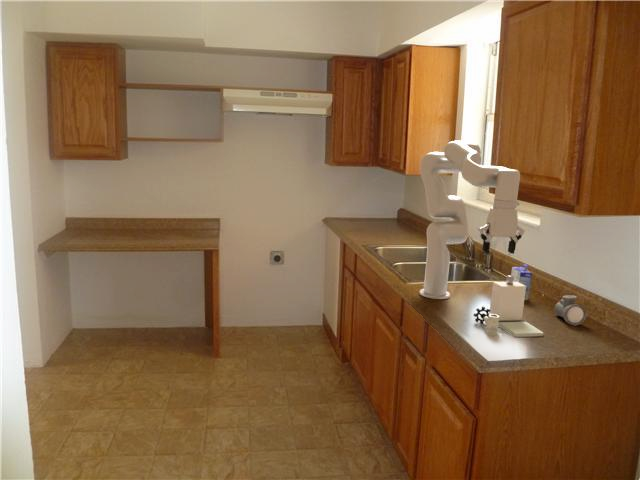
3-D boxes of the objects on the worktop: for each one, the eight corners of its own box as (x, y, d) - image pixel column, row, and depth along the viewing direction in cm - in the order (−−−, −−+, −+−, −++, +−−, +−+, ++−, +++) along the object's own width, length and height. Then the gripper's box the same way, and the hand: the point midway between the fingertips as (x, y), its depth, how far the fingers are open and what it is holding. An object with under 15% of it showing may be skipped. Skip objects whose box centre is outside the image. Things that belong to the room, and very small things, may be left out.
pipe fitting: (587, 325, 208) (587, 298, 207) (565, 326, 207) (566, 299, 206) (570, 317, 219) (571, 292, 218) (550, 318, 219) (550, 293, 218)
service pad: (498, 325, 204) (498, 322, 203) (525, 324, 206) (525, 321, 206) (515, 336, 193) (515, 333, 193) (543, 335, 195) (543, 332, 195)
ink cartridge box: (529, 300, 236) (533, 267, 233) (516, 300, 236) (520, 267, 233) (520, 293, 246) (524, 261, 243) (507, 293, 245) (511, 261, 242)
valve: (503, 335, 194) (489, 323, 205) (505, 317, 192) (491, 306, 204) (485, 335, 193) (472, 323, 205) (487, 317, 192) (474, 306, 203)
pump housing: (486, 317, 212) (491, 273, 209) (512, 316, 214) (517, 273, 211) (497, 324, 204) (502, 279, 201) (523, 323, 207) (530, 279, 203)
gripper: (521, 203, 199) (515, 250, 203) (476, 202, 196) (471, 249, 200) (533, 207, 192) (526, 255, 196) (486, 205, 189) (480, 254, 193)
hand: (498, 252), depth 198 cm, fingers open, 9 cm apart
